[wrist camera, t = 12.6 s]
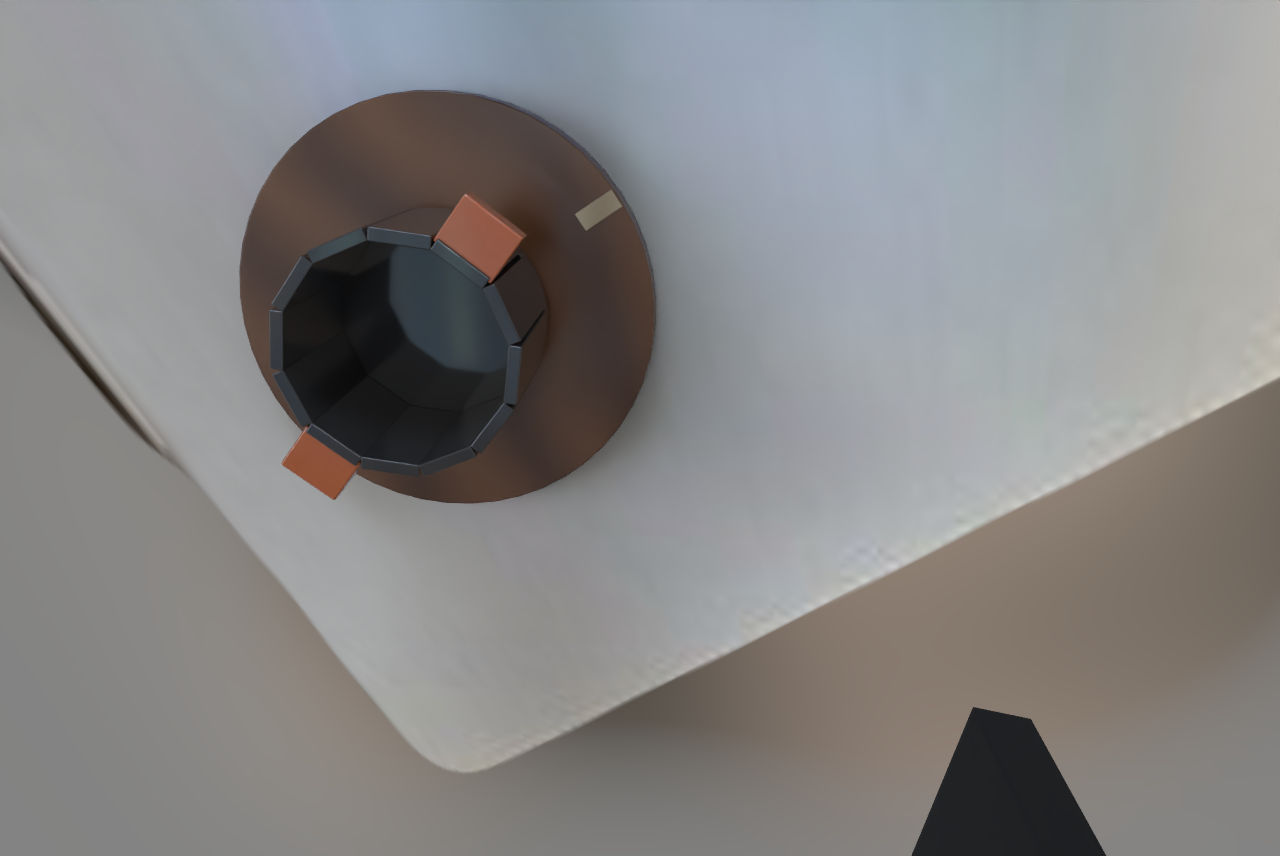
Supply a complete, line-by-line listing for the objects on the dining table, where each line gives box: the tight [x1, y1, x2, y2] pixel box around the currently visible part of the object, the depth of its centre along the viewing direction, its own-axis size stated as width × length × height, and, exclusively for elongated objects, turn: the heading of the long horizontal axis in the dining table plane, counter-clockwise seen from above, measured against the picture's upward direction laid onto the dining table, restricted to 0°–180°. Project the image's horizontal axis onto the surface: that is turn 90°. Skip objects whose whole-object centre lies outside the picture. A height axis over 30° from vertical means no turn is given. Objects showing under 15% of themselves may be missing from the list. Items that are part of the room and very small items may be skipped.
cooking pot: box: [269, 192, 549, 500], centre depth 34 cm, size 9×13×7 cm
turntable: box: [240, 90, 656, 503], centre depth 38 cm, size 18×18×2 cm
